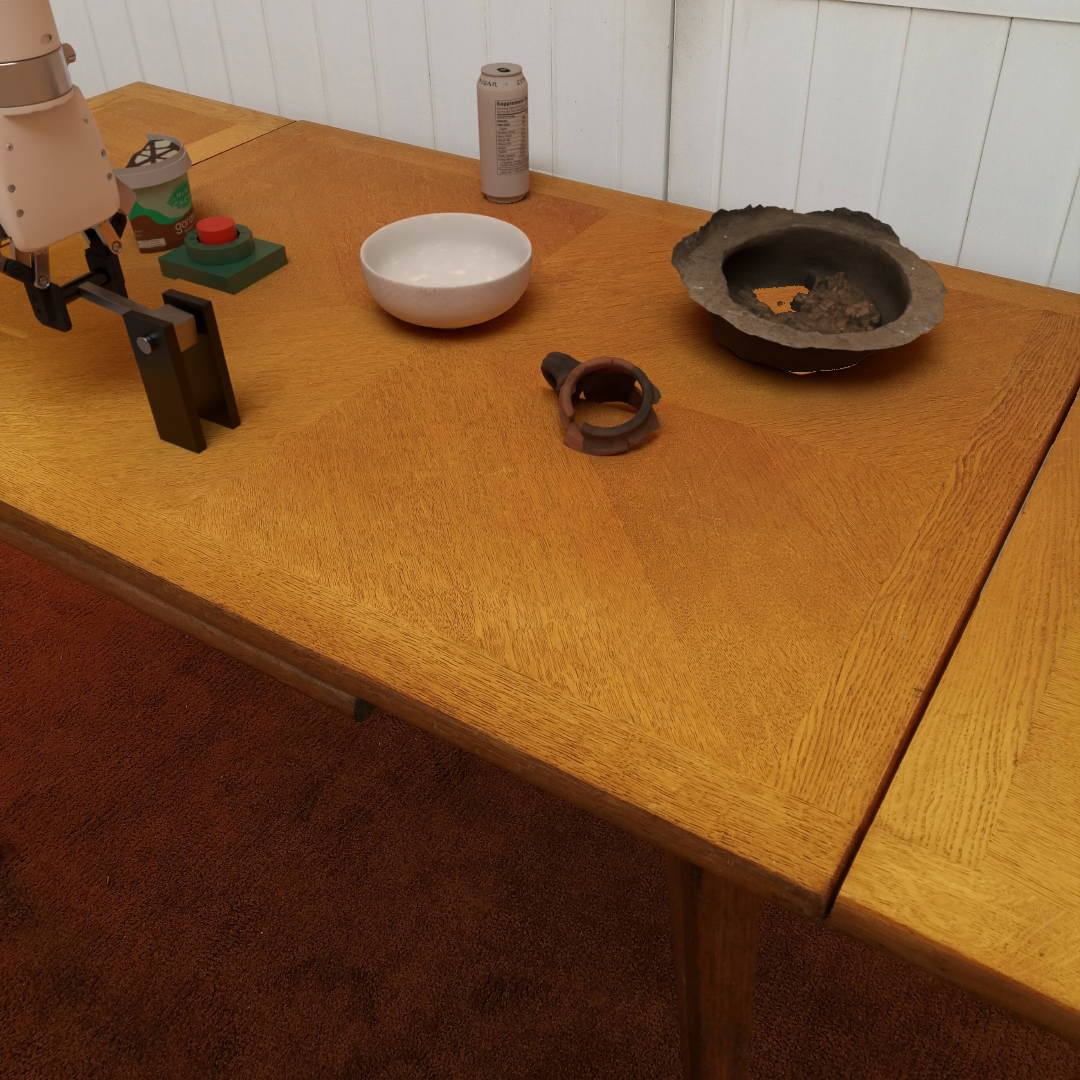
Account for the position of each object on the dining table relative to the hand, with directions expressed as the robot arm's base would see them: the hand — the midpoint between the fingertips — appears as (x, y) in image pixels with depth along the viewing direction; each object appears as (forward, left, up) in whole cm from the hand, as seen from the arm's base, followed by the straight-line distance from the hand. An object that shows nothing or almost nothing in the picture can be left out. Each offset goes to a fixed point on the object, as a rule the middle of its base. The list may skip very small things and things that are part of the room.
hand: (84, 310), depth 82 cm
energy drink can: (+4, +59, -10) cm, 60 cm away
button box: (-12, +26, -10) cm, 30 cm away
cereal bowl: (+15, +30, -10) cm, 35 cm away
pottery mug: (+38, +18, -10) cm, 43 cm away
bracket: (+10, 0, -10) cm, 14 cm away
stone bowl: (+48, +42, -10) cm, 65 cm away
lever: (+5, 0, 0) cm, 5 cm away
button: (-12, +26, -6) cm, 29 cm away
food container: (-23, +30, -10) cm, 39 cm away
